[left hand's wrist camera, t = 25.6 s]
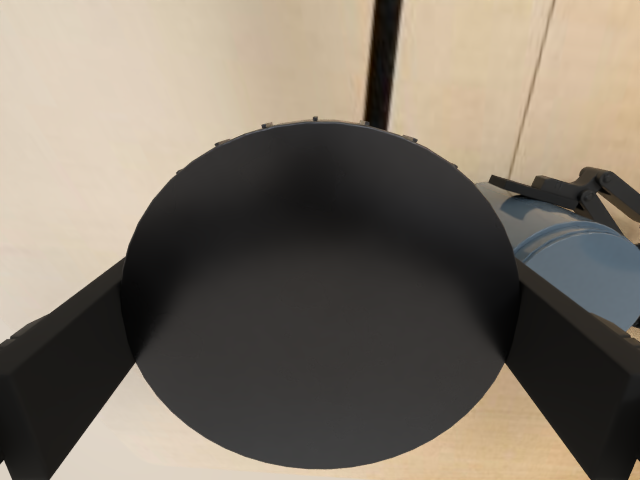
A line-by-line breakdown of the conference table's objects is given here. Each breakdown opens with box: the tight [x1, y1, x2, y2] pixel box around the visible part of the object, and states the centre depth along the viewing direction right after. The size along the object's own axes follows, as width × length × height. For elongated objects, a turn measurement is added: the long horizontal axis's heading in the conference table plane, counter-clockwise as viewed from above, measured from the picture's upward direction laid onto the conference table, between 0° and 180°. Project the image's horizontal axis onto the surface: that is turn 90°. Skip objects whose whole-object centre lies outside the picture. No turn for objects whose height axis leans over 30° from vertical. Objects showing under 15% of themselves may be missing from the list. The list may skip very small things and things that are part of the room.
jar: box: [475, 182, 640, 332], centre depth 31 cm, size 10×10×15 cm
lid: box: [120, 116, 520, 469], centre depth 11 cm, size 11×11×2 cm
